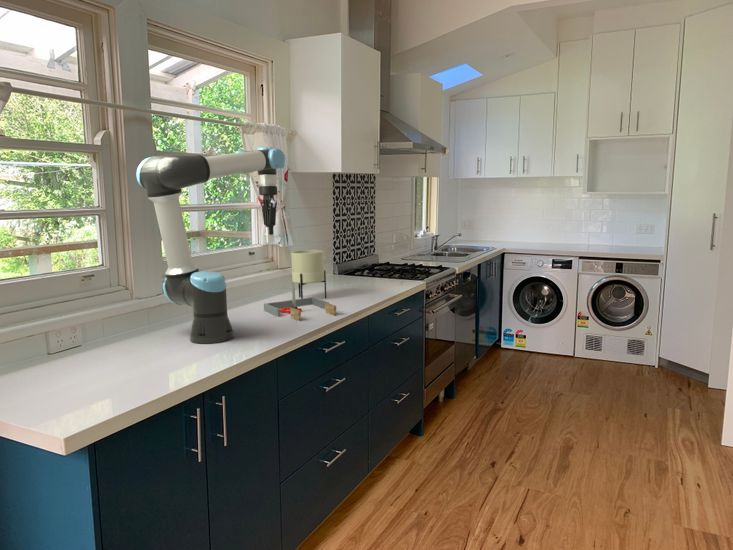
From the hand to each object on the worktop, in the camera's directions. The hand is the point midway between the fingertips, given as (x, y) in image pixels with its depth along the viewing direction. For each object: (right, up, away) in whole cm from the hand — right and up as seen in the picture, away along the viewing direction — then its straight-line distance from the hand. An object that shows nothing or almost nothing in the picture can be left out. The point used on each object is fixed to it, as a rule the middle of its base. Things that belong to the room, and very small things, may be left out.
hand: (270, 242), depth 237 cm
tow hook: (+7, -30, +7) cm, 31 cm away
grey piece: (+10, -29, +10) cm, 32 cm away
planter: (+13, -26, +34) cm, 44 cm away
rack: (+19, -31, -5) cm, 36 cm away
